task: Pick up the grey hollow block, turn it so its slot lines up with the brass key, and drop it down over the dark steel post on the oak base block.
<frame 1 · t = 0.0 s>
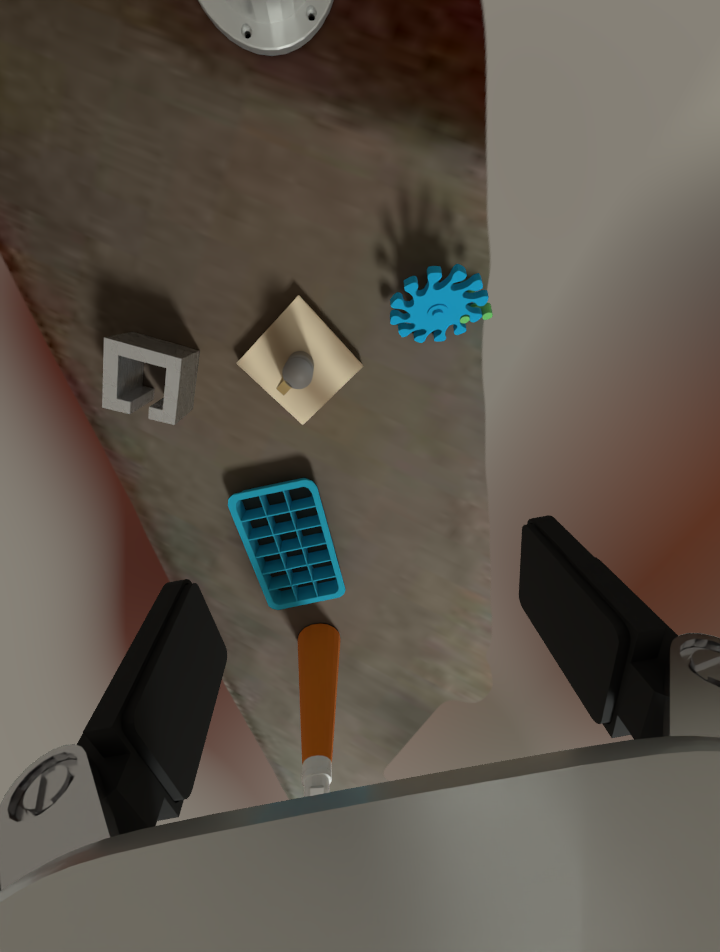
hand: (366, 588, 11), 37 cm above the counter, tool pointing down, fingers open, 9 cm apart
ice cube tray: (292, 537, 55), on the counter
spray bottle: (318, 644, 64), on the counter
keyed post stand: (301, 362, 44), on the counter
gear: (432, 306, 43), on the counter
grey hollow block: (164, 372, 43), on the counter
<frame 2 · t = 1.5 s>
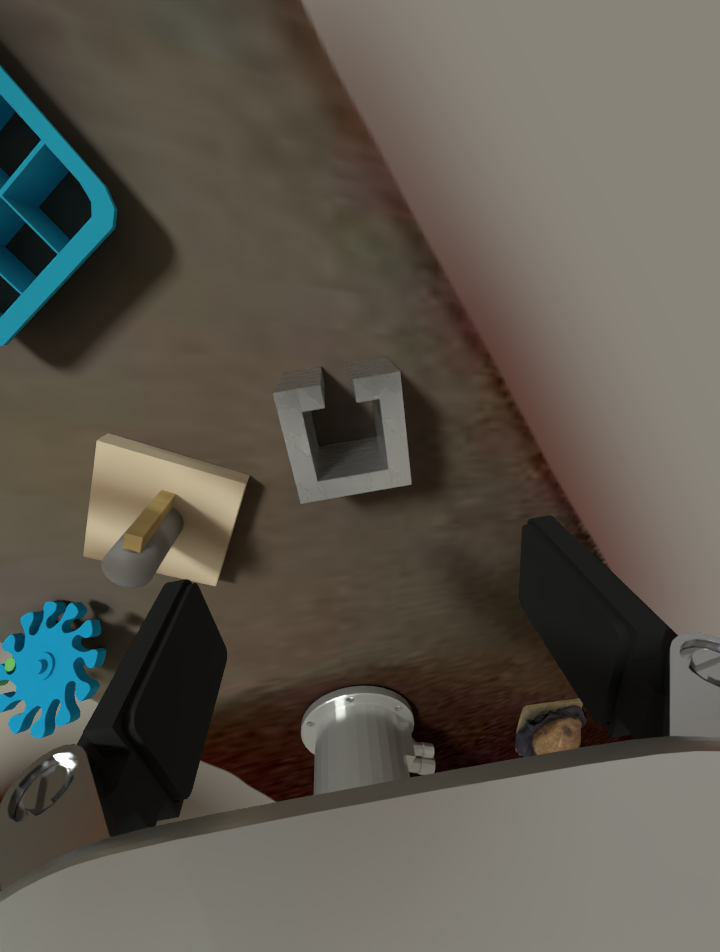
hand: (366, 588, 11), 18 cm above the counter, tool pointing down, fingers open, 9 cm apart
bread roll: (544, 722, 47), on the counter
keyed post stand: (169, 510, 30), on the counter
gear: (73, 628, 34), on the counter
grey hollow block: (342, 413, 27), on the counter
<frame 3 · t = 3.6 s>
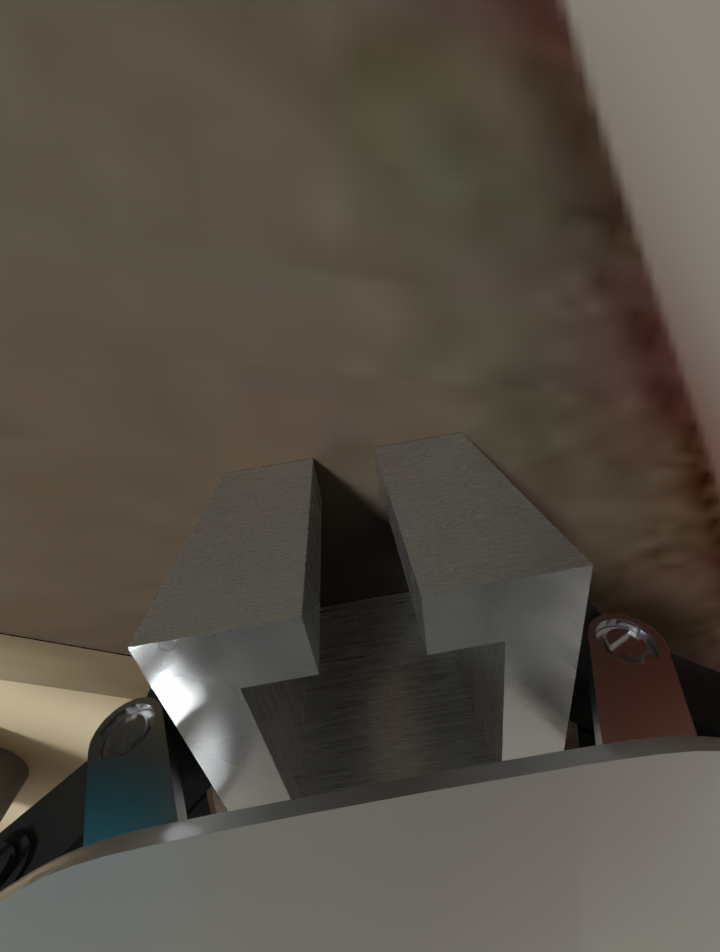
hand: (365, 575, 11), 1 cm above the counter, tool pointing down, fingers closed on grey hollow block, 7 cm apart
keyed post stand: (12, 724, 15), on the counter
grey hollow block: (361, 549, 13), on the counter, touching gripper
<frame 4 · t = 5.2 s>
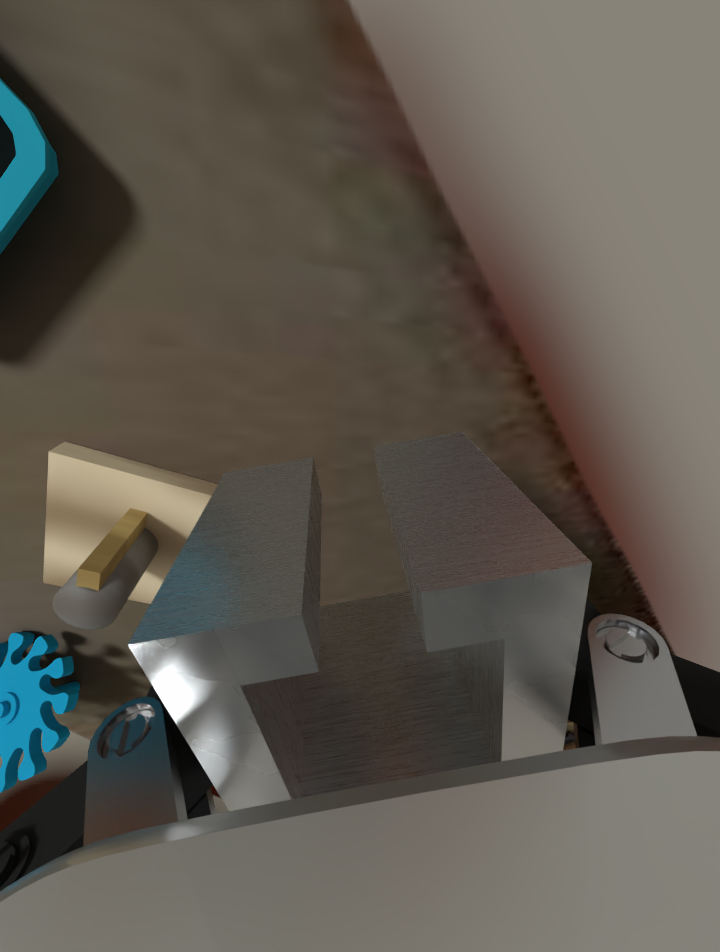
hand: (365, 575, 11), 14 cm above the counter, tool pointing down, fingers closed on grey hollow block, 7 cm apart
keyed post stand: (143, 529, 25), on the counter
gear: (43, 659, 31), on the counter
grey hollow block: (361, 548, 13), point 12 cm above the counter, touching gripper
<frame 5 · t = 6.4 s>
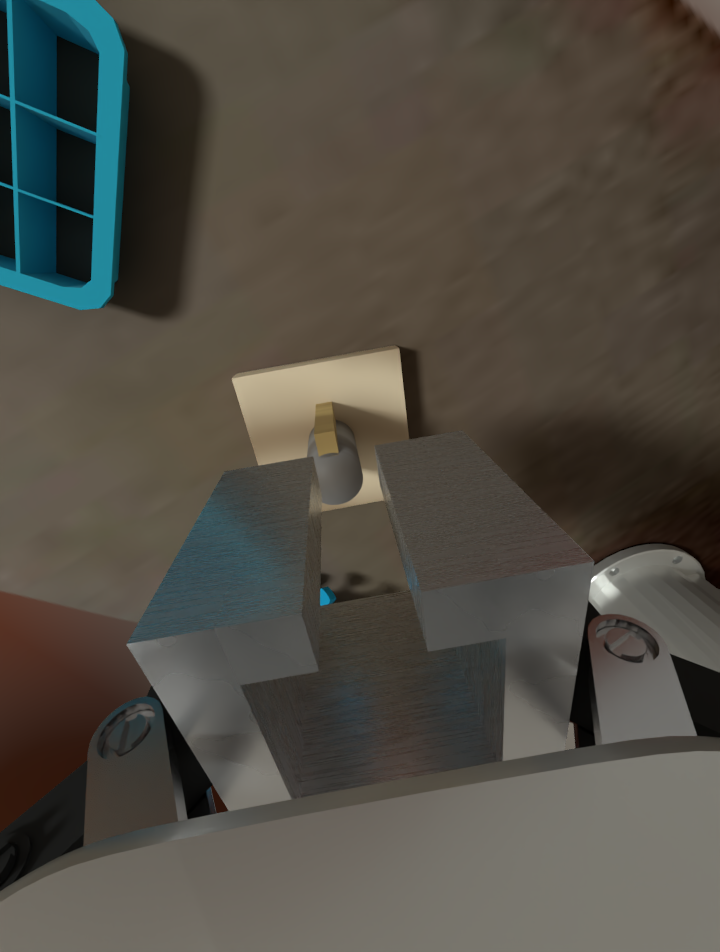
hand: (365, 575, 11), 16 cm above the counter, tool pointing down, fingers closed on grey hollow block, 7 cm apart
keyed post stand: (331, 434, 26), on the counter
grey hollow block: (361, 547, 12), point 14 cm above the counter, touching gripper
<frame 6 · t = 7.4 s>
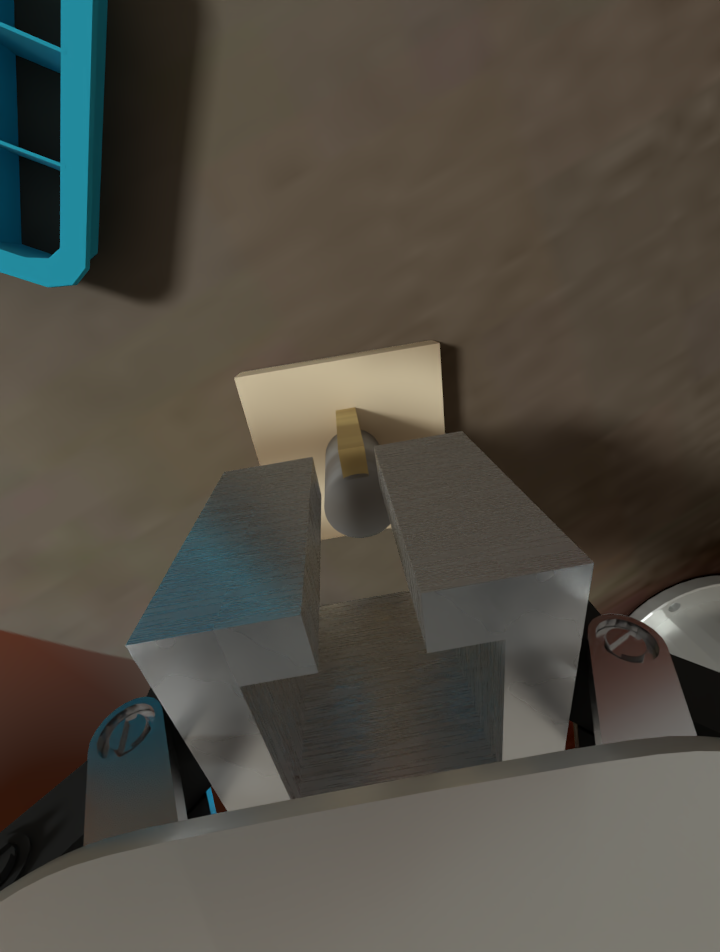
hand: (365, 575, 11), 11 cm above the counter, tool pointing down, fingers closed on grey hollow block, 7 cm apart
keyed post stand: (351, 445, 22), on the counter
grey hollow block: (361, 548, 12), point 10 cm above the counter, touching gripper
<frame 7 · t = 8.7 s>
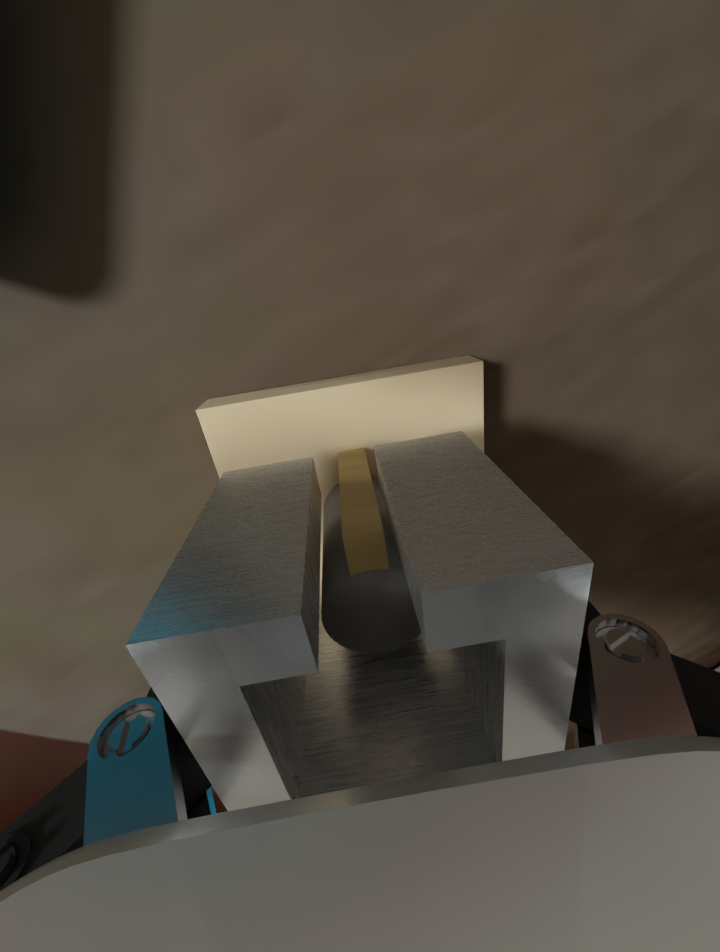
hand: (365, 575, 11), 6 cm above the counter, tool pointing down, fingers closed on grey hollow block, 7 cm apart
keyed post stand: (358, 492, 16), on the counter
grey hollow block: (361, 547, 12), point 4 cm above the counter, touching gripper
when the fingers open (4 cm above the counter, at t = 9.5 s): grey hollow block drops 1 cm, resting on keyed post stand.
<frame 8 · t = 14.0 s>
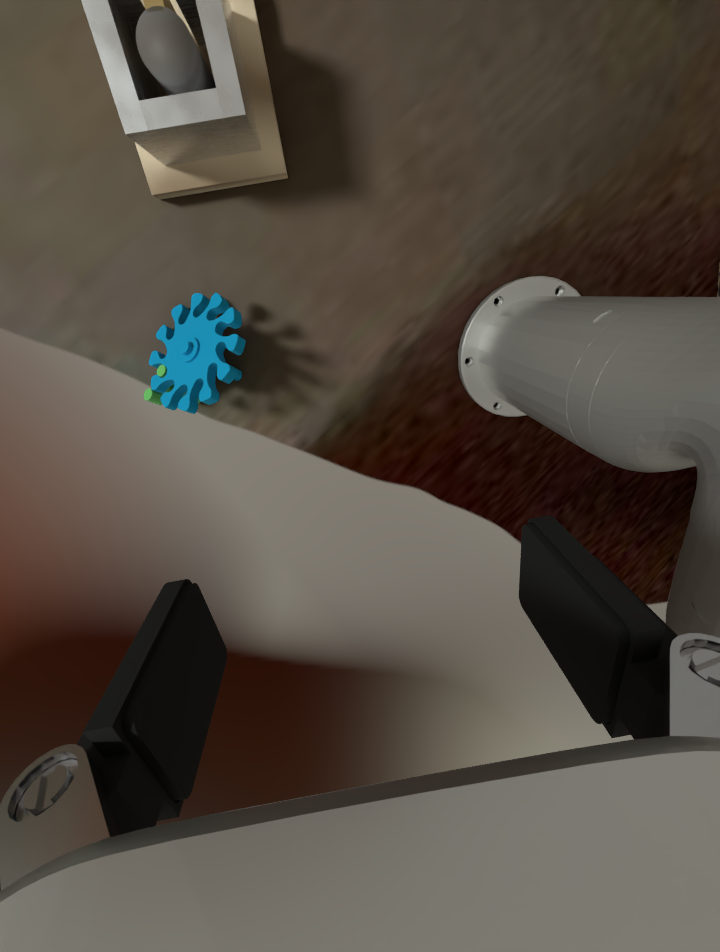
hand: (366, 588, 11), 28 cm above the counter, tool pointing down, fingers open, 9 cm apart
keyed post stand: (202, 103, 27), on the counter
gear: (204, 351, 34), on the counter
grey hollow block: (196, 93, 26), point 1 cm above the counter, touching keyed post stand
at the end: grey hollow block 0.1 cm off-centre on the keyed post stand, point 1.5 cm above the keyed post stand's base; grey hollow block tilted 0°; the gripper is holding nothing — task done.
